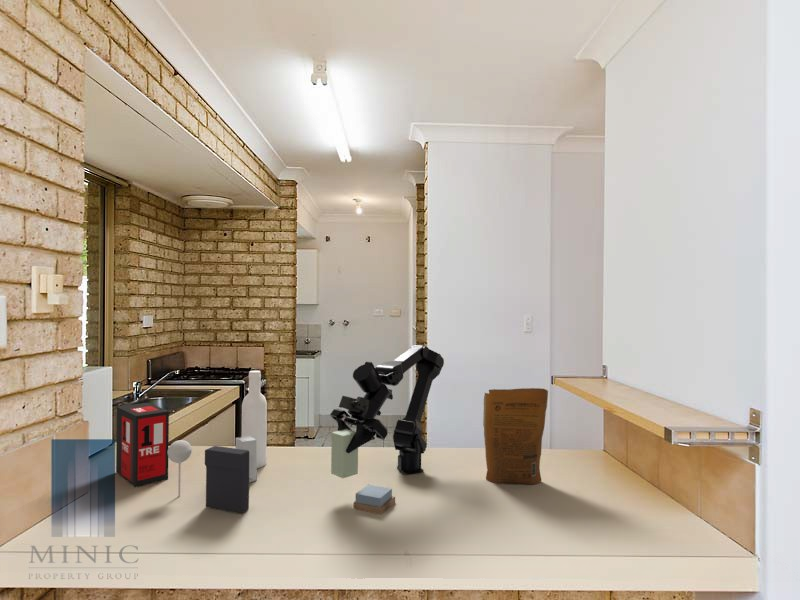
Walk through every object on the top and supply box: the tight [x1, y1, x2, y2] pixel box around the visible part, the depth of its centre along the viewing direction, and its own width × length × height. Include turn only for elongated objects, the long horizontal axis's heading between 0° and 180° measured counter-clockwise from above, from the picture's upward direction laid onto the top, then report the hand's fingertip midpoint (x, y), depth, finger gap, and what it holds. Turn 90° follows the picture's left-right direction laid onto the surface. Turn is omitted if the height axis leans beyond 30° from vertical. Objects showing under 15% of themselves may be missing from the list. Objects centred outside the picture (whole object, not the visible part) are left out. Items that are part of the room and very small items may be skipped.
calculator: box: [204, 445, 250, 515], centre depth 125 cm, size 11×4×15 cm, turn 71°
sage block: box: [330, 429, 359, 479], centre depth 131 cm, size 5×5×11 cm
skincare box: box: [235, 436, 258, 483], centre depth 145 cm, size 6×4×12 cm
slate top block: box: [355, 484, 393, 507], centre depth 127 cm, size 7×7×2 cm
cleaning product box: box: [115, 402, 170, 488], centre depth 147 cm, size 16×9×20 cm, turn 46°
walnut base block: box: [353, 495, 396, 515], centre depth 128 cm, size 8×8×2 cm
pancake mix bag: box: [482, 387, 549, 485], centre depth 145 cm, size 7×19×28 cm, turn 87°
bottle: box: [241, 370, 268, 469], centre depth 157 cm, size 8×8×30 cm
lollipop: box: [167, 439, 193, 498], centre depth 132 cm, size 6×6×15 cm
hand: (340, 450), depth 130 cm, fingers closed on sage block, 5 cm apart
